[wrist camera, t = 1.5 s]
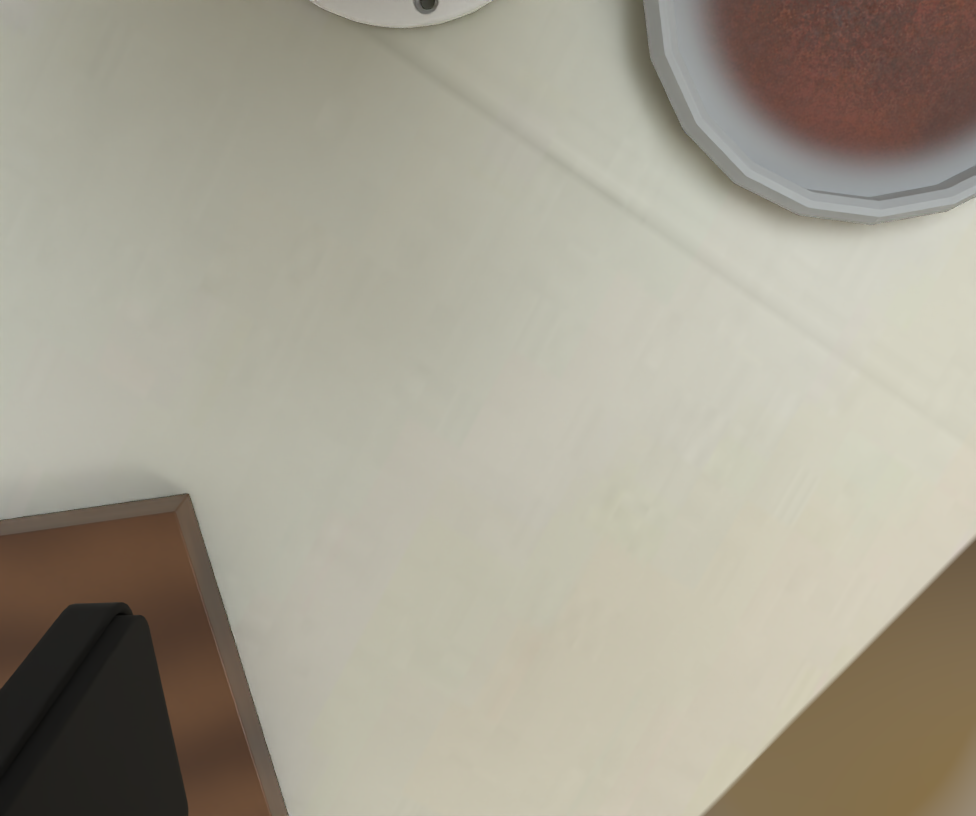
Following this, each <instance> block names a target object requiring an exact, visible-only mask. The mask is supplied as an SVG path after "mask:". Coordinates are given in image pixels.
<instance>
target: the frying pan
mask: <svg viewBox="0 0 976 816" xmlns="http://www.w3.org/2000/svg"><path fill="white" fill-rule="evenodd" d="M643 3H644V11H645V19H646V27H647V35H648V44H649V52H650V59H651V61H652V64H653V66H654V68H655V70H656V72H657V74H658V77H659V79H660V81H661V83H662V85H663V87H664V90H665V92H666V94H667V96H668V98H669V100H670V103H671V105H672V107H673V109H674V111H675V113H676V116H677V118H678V120H679V122H680V124H681V126H682V129H683V130H684V131H685V132H686V133H687V134H688V136H689V137H690V138H691V139H692V140H693V141H694V142H695V143H696V144H697V145H698V146H699V147H700V148H701V149H702V150H703V151H704V152H705V153H706V154H707V155H708V156H709V157H710V158H711V160H712V161H713V162H714V163H715V164H716V165H717V166H718V167H719V168H720V169H721V170H722V171H723V172H724V173H725V174H726V175H727V176H728V177H729V178H730V179H731V180H732V181H733V183H735V184H737V185H739V186H741V187H743V188H745V189H747V190H749V191H751V192H753V193H755V194H757V195H759V196H761V197H763V198H765V199H767V200H769V201H771V202H773V203H775V204H777V205H779V206H781V207H783V208H785V209H787V210H789V211H791V212H793V213H795V214H797V215H800V216H808V217H815V218H823V219H830V220H838V221H845V222H853V223H860V224H868V225H873V224H879V223H885V222H890V221H896V220H901V219H907V218H912V217H918V216H923V215H929V214H935V213H940V212H946V211H948V210H950V209H952V208H954V207H956V206H958V205H960V204H962V203H965V202H967V201H969V200H971V199H973V198H975V197H976V0H643Z"/></svg>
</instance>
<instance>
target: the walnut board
mask: <svg viewBox="0 0 976 816" xmlns="http://www.w3.org/2000/svg"><path fill="white" fill-rule="evenodd" d="M111 602H123V603H125V604H127V605H128V606H129V607H130V609H131V610H132V613H133V615H142V616H144V617H145V619H146V620H147V622H148V625H149V628H150V633H151V637H152V642H153V647H154V651H155V656H156V660H157V665H158V669H159V674H160V678H161V683H162V688H163V692H164V697H165V701H166V706H167V710H168V715H169V720H170V724H171V729H172V733H173V738H174V742H175V747H176V751H177V756H178V761H179V765H180V770H181V774H182V779H183V783H184V788H185V792H186V797H187V802H188V816H288V813H287V810H286V807H285V804H284V800H283V797H282V794H281V791H280V788H279V784H278V781H277V778H276V775H275V771H274V768H273V765H272V762H271V758H270V755H269V752H268V749H267V745H266V742H265V739H264V736H263V732H262V729H261V726H260V723H259V720H258V716H257V713H256V710H255V707H254V703H253V700H252V697H251V694H250V690H249V687H248V684H247V681H246V677H245V674H244V671H243V668H242V664H241V661H240V658H239V655H238V652H237V648H236V645H235V642H234V639H233V635H232V632H231V629H230V626H229V622H228V619H227V616H226V613H225V609H224V606H223V603H222V600H221V597H220V593H219V590H218V587H217V584H216V580H215V577H214V574H213V571H212V567H211V564H210V561H209V558H208V554H207V551H206V548H205V545H204V541H203V538H202V535H201V532H200V529H199V525H198V522H197V519H196V516H195V512H194V509H193V506H192V503H191V499H190V496H189V494H183V495H176V496H169V497H162V498H155V499H148V500H141V501H134V502H127V503H120V504H113V505H106V506H99V507H92V508H85V509H78V510H70V511H63V512H56V513H49V514H42V515H35V516H28V517H21V518H14V519H7V520H0V689H1V688H2V687H3V686H4V684H5V683H6V682H7V681H8V679H9V678H10V677H11V676H12V674H13V673H14V672H15V671H16V669H17V668H18V667H19V666H20V664H21V663H22V662H23V661H24V659H25V658H26V657H27V656H28V654H29V653H30V652H31V651H32V649H33V648H34V647H35V645H36V644H37V643H38V642H39V640H40V639H41V638H42V637H43V635H44V634H45V633H46V632H47V630H48V629H49V628H50V627H51V625H52V624H53V623H54V622H55V620H56V619H57V618H58V617H59V615H60V614H61V613H62V612H63V610H64V609H66V608H67V607H68V606H69V605H71V604H78V603H111Z"/></svg>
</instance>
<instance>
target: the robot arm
mask: <svg viewBox="0 0 976 816" xmlns="http://www.w3.org/2000/svg"><path fill="white" fill-rule="evenodd" d="M309 1H311V2H312V3H314V4H315V5H317V6H319V7H320V8H322V9H324V10H327V11H329V12H332V13H334V14H337V15H339V16H342V17H344V18H347V19H350V20H352V21H355V22H360V23H364V24H368V25H373V26H383V27H392V28H414V27H421V26H429V25H437V24H442V23H445V22H448V21H451V20H453V19H456V18H459V17H462V16H465V15H468V14H470V13H473V12H475V11H476V10H478V9H480V8H481V7H483V6H485V5H486V4H488V3H490V2H491V1H493V0H435V4H434V6H433V7H432V8H431V9H429V10H428V9H424V8H423V7H422V5H421V0H309ZM0 816H188V802H187V797H186V792H185V788H184V783H183V779H182V774H181V770H180V765H179V761H178V756H177V751H176V747H175V742H174V738H173V733H172V729H171V724H170V720H169V715H168V710H167V706H166V701H165V697H164V692H163V688H162V683H161V678H160V674H159V669H158V665H157V660H156V656H155V651H154V647H153V642H152V637H151V633H150V628H149V625H148V622H147V620H146V619H145V617H144V616H142V615H133V613H132V610H131V609H130V607H129V606H128V605H127V604H125V603H123V602H111V603H78V604H71V605H69V606H68V607H67V608H66V609H64V610H63V612H62V613H61V614H60V615H59V617H58V618H57V619H56V620H55V622H54V623H53V624H52V625H51V627H50V628H49V629H48V630H47V632H46V633H45V634H44V635H43V637H42V638H41V639H40V640H39V642H38V643H37V644H36V645H35V647H34V648H33V649H32V651H31V652H30V653H29V654H28V656H27V657H26V658H25V659H24V661H23V662H22V663H21V664H20V666H19V667H18V668H17V669H16V671H15V672H14V673H13V674H12V676H11V677H10V678H9V679H8V681H7V682H6V683H5V684H4V686H3V687H2V688H1V689H0Z"/></svg>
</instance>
